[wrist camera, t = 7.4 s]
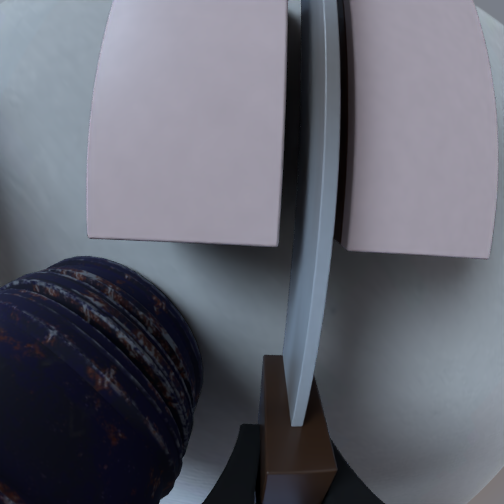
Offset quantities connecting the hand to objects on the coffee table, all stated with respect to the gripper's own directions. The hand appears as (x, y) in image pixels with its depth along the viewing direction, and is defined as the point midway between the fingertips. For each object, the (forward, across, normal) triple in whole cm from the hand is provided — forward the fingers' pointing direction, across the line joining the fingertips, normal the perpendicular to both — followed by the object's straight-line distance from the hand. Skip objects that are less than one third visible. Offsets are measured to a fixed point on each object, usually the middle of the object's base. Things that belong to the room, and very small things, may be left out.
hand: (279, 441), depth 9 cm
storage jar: (+3, +8, -1) cm, 9 cm away
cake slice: (+3, -3, -12) cm, 13 cm away
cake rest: (+3, +3, -12) cm, 13 cm away
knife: (+1, 0, -7) cm, 7 cm away
